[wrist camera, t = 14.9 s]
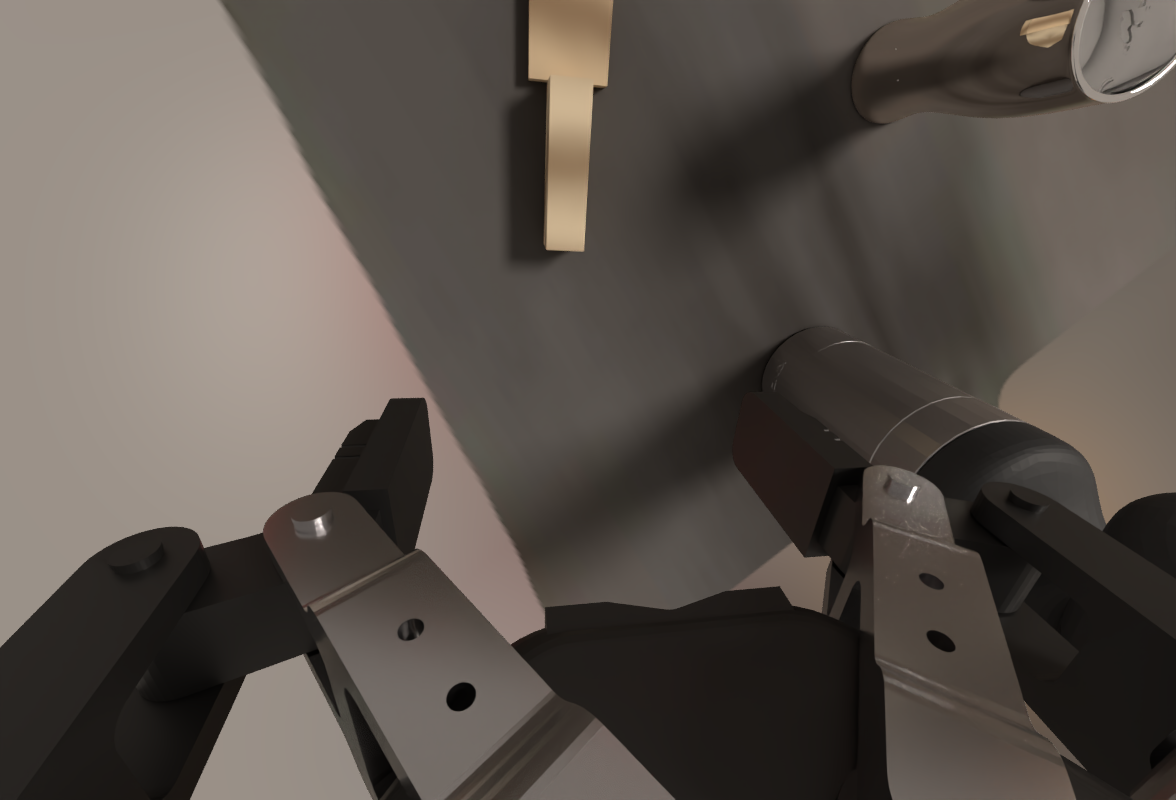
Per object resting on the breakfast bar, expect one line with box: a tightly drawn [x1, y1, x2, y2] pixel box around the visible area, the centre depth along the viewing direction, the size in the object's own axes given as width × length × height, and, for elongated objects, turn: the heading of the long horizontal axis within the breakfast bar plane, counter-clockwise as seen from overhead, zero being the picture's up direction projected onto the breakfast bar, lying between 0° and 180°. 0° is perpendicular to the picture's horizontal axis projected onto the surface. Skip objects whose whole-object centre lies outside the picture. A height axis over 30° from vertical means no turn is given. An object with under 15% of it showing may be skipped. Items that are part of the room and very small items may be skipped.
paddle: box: [528, 0, 613, 251], centre depth 30 cm, size 16×5×3 cm, turn 176°
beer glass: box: [851, 0, 1176, 124], centre depth 26 cm, size 7×7×15 cm
